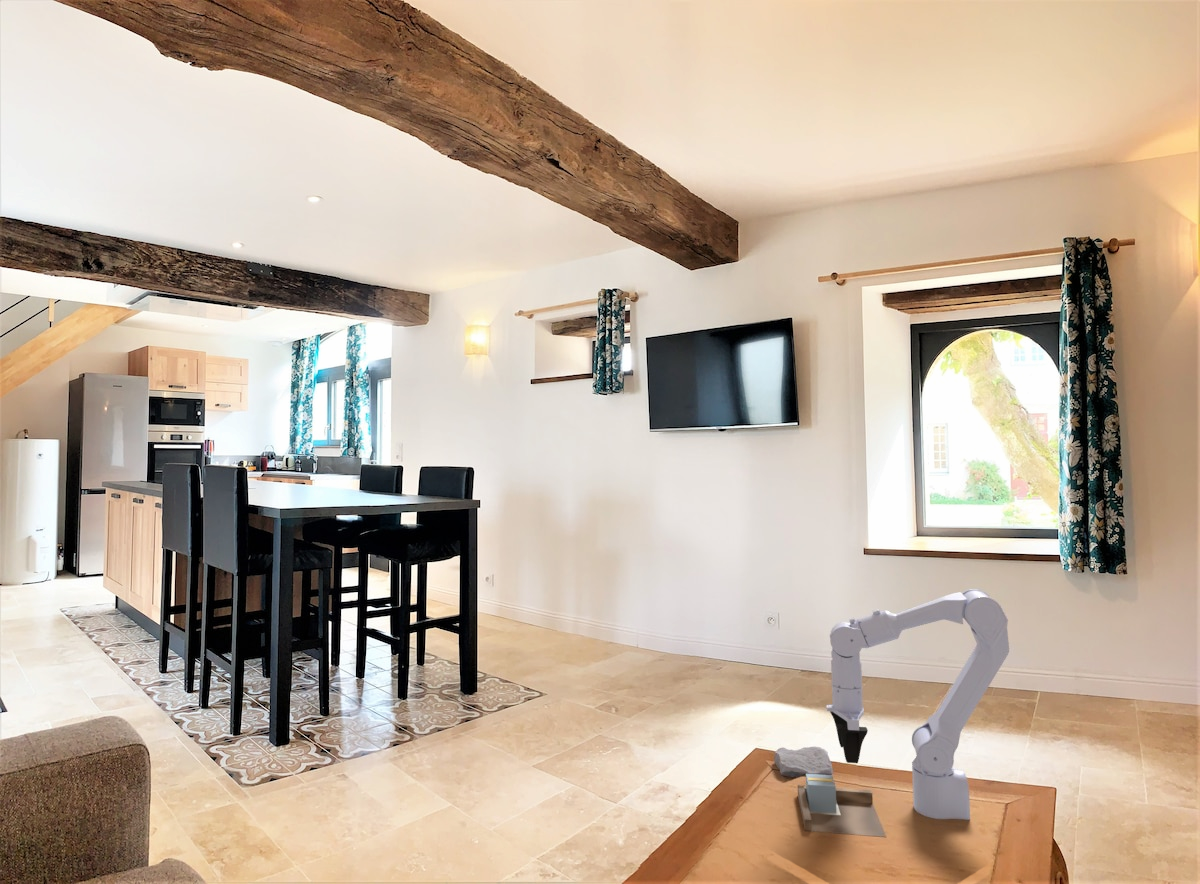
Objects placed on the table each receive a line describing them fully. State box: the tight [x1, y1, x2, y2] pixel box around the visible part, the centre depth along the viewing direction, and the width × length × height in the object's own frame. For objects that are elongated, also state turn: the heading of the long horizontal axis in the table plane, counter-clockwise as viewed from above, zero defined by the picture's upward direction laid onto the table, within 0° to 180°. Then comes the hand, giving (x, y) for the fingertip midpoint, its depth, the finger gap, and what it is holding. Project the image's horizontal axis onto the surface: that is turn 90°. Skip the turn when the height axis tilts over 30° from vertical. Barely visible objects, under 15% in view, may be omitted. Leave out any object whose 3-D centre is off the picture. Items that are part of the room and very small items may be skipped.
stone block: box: [774, 746, 834, 778], centre depth 156 cm, size 12×5×10 cm
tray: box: [797, 785, 887, 838], centre depth 133 cm, size 14×14×3 cm
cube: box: [805, 774, 837, 813], centre depth 136 cm, size 5×5×5 cm
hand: (848, 754), depth 140 cm, fingers open, 7 cm apart
